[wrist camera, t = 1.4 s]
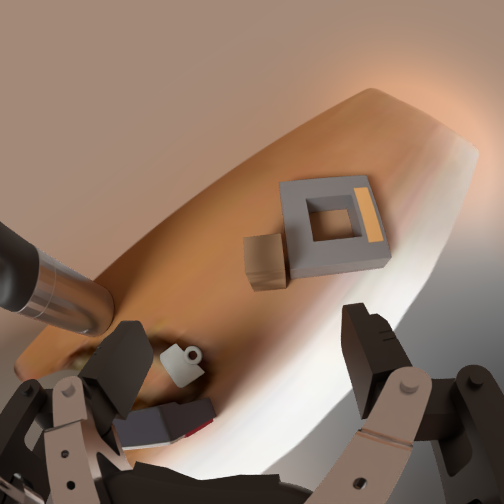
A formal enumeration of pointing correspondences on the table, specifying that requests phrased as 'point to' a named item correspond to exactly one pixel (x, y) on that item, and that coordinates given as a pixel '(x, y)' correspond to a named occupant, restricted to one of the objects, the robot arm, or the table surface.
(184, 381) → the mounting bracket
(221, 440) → the table surface
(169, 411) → the black slab
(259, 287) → the walnut peg
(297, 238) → the socket block
